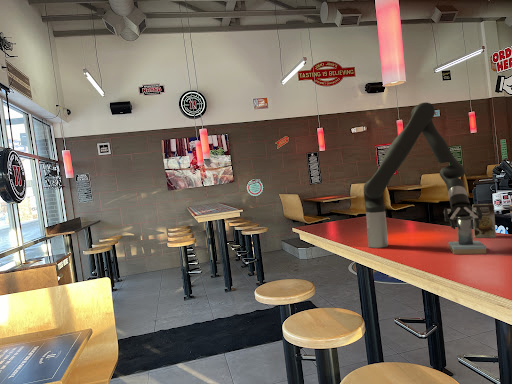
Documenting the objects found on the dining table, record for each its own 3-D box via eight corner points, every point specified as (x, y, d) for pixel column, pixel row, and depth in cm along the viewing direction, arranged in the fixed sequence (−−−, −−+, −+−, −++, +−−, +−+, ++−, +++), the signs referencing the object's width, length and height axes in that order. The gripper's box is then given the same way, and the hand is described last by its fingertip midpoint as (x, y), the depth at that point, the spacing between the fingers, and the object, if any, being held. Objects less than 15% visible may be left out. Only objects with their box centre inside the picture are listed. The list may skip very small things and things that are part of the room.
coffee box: (474, 237, 185) (472, 205, 185) (474, 235, 191) (471, 204, 190) (496, 237, 181) (494, 204, 181) (495, 235, 187) (492, 203, 186)
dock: (453, 254, 156) (453, 247, 156) (448, 248, 168) (448, 241, 168) (486, 253, 153) (486, 246, 153) (479, 247, 164) (478, 240, 164)
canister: (459, 245, 159) (457, 217, 158) (457, 242, 164) (455, 216, 164) (474, 244, 157) (472, 216, 156) (471, 242, 162) (469, 215, 162)
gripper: (441, 194, 169) (447, 223, 158) (477, 191, 164) (486, 221, 154) (440, 204, 174) (446, 233, 163) (475, 202, 169) (483, 232, 159)
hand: (465, 227), depth 159 cm, fingers open, 8 cm apart
